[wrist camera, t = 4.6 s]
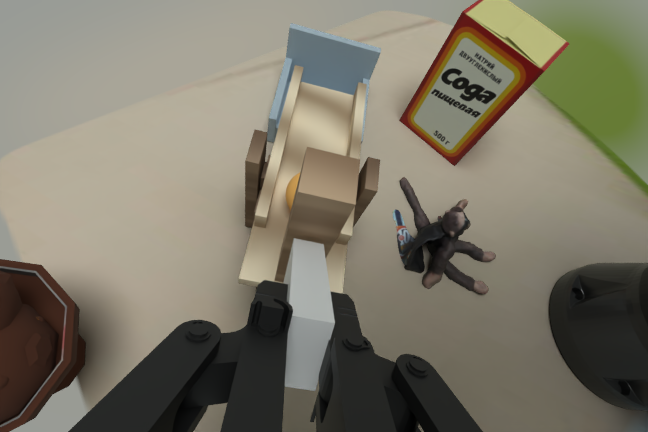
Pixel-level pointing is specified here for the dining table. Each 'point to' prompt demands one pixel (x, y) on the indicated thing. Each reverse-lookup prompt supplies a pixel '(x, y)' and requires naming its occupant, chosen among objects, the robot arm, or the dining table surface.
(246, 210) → the stand
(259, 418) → the robot arm
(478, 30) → the baking soda box
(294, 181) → the ball
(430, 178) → the dining table surface
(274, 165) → the lever
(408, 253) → the stuffed animal
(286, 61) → the bin
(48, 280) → the ice cream bowl
